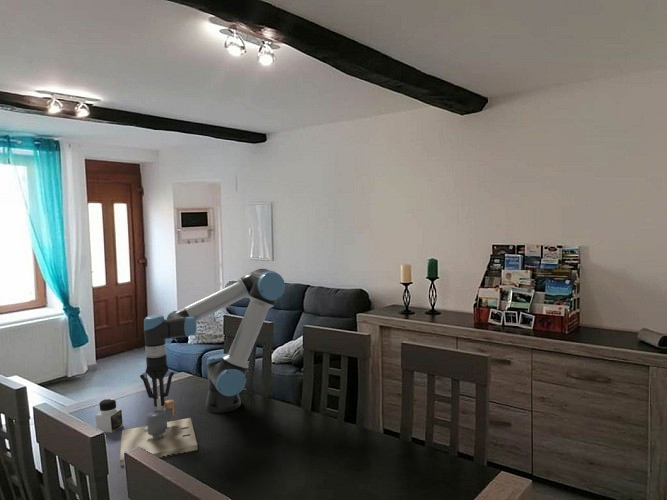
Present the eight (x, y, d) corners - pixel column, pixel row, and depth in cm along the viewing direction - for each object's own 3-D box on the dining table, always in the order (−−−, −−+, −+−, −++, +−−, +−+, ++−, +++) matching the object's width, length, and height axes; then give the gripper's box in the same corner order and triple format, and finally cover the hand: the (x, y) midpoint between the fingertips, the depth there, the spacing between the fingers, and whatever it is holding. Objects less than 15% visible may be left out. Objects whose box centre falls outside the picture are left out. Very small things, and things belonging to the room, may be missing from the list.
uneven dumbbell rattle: (184, 417, 202) (182, 399, 201) (166, 435, 186) (164, 416, 185) (160, 417, 203) (159, 399, 202) (140, 435, 187) (139, 416, 186)
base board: (190, 422, 207) (190, 413, 207) (197, 449, 183) (196, 439, 182) (122, 435, 198) (121, 425, 197) (120, 465, 173) (119, 454, 173)
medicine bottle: (112, 433, 200) (109, 403, 199) (96, 432, 202) (93, 403, 200) (123, 425, 207) (120, 397, 206) (107, 424, 208) (105, 396, 207)
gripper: (136, 359, 192) (140, 419, 193) (172, 356, 194) (175, 415, 195) (140, 354, 199) (144, 412, 201) (174, 351, 201) (178, 408, 203)
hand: (160, 413), depth 198 cm, fingers closed
